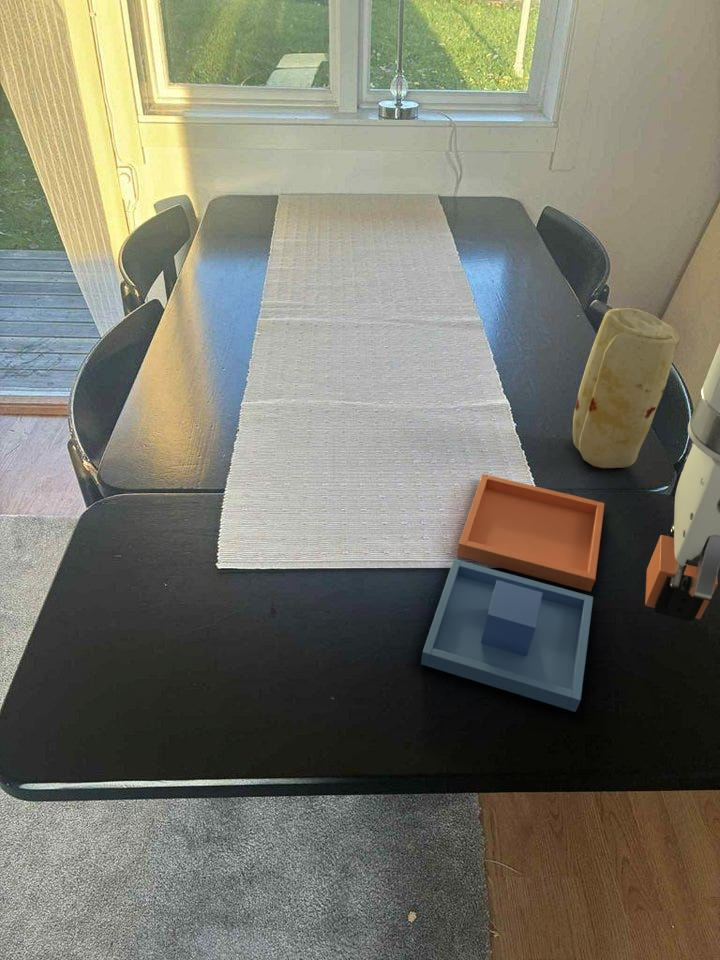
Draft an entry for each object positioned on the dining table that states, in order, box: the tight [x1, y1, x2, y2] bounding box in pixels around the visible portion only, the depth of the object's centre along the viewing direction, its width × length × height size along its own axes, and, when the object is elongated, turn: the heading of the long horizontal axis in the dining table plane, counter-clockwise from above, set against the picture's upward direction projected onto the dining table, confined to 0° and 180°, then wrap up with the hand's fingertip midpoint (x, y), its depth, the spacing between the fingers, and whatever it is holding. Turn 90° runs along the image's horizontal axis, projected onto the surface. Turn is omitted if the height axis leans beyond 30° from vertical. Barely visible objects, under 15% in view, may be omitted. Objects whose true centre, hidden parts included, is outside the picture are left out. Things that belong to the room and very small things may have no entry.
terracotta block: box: [644, 534, 719, 620], centre depth 60 cm, size 4×4×4 cm
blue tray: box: [420, 558, 594, 713], centre depth 69 cm, size 15×13×2 cm
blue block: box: [481, 580, 543, 656], centre depth 68 cm, size 4×4×4 cm
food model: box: [572, 308, 681, 469], centre depth 85 cm, size 10×7×20 cm
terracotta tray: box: [456, 473, 605, 593], centre depth 80 cm, size 15×13×2 cm
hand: (674, 590), depth 61 cm, fingers closed on terracotta block, 4 cm apart
